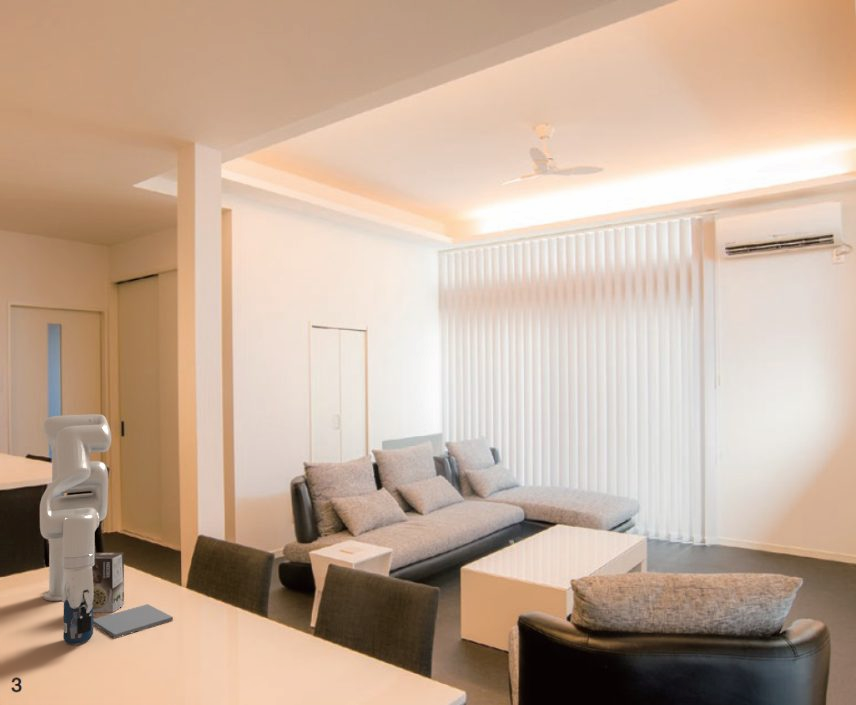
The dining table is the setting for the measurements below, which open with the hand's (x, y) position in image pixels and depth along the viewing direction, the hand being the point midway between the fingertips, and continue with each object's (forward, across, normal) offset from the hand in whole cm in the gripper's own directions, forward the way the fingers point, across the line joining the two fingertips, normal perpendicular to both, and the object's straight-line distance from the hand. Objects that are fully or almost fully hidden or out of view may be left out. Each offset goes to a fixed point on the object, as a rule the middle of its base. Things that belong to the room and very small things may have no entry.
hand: (78, 628), depth 171 cm
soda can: (+3, 0, 0) cm, 3 cm away
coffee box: (+4, -19, +14) cm, 24 cm away
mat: (+3, -2, +15) cm, 15 cm away
